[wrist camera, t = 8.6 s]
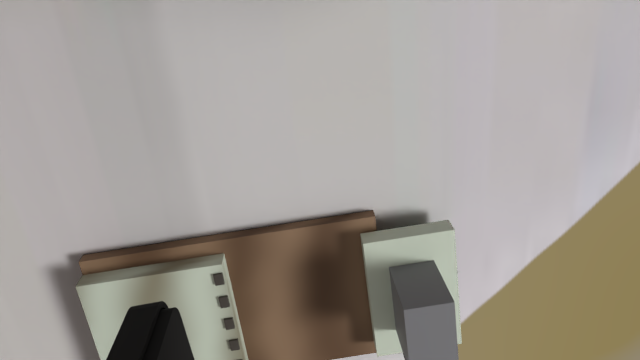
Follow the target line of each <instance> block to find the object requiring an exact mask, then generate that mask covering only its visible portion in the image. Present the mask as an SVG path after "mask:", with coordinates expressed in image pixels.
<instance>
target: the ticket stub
mask: <svg viewBox="0 0 640 360" xmlns="http://www.w3.org/2000/svg"><path fill="white" fill-rule="evenodd" d="M360 236H361V244H362V252H363V259H364V267H365V275H366V283H367V290H368V298H369V306H370V314H371V322H372V329H373V337H374V344H375V348H376V353H377V356H384V355H390V354H396V353H403V355H404V358H405V360H458V347H457V344H461V326H460V310H459V294H458V277H457V261H456V245H455V230H454V228H453V227H452V225H451V223H450V222H449V220H445V221H438V222H432V223H425V224H419V225H413V226H406V227H400V228H393V229H387V230H380V231H374V232H367V233H361V234H360Z"/></svg>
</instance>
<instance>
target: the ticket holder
mask: <svg viewBox="0 0 640 360" xmlns="http://www.w3.org/2000/svg"><path fill="white" fill-rule="evenodd" d="M374 231H377V228H376V220H375V215H374V212H373V210H371V211H365V212H358V213H352V214H345V215H339V216H332V217H326V218H319V219H313V220H306V221H300V222H293V223H287V224H281V225H274V226H268V227H261V228H255V229H248V230H242V231H235V232H229V233H222V234H216V235H209V236H203V237H196V238H190V239H183V240H177V241H170V242H164V243H157V244H151V245H145V246H138V247H132V248H125V249H119V250H112V251H106V252H99V253H93V254H86V255H83V256H82V258H81V259H80V261H79V265H80V268H81V271H82V274H83V276H82V277H81V279H80V281H79V282H78V284H77V285H76V290H77V293H78V296H79V298H80V301H81V304H82V307H83V310H84V313H85V316H86V319H87V322H88V325H89V328H90V331H91V333H92V336H93V339H94V342H95V345H96V348H97V351H98V354H99V357H100V360H106V359H107V357H108V354H109V352H110V350H111V347H112V345H113V343H114V341H115V338H116V336H117V334H118V332H119V329H120V327H121V325H122V322H123V320H124V318H125V316H126V313H127V311H128V309H129V308H130V307H132V306H137V305H142V304H148V303H154V302H159V301H164V302H165V303H166V304H167V306H168V308H173V307H176V308H177V309H178V310H179V312H180V315H181V318H182V321H183V324H184V327H185V331H186V334H187V337H188V340H189V343H190V347H191V350H192V353H193V356H194V360H331V359H338V358H344V357H351V356H357V355H363V354H370V353H376V348H375V344H374V337H373V329H372V322H371V314H370V306H369V298H368V290H367V283H366V275H365V267H364V259H363V252H362V244H361V236H360V234H361V233H367V232H374Z"/></svg>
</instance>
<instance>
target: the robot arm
mask: <svg viewBox="0 0 640 360" xmlns="http://www.w3.org/2000/svg"><path fill="white" fill-rule="evenodd" d="M106 360H194V356H193V353H192V350H191V347H190V343H189V340H188V337H187V334H186V331H185V327H184V324H183V321H182V318H181V315H180V312H179V310H178V309H177V308H176V307H173V308H168V306H167V304H166V303H165V302H164V301H159V302H154V303H148V304H142V305H137V306H132V307H130V308H129V309H128V311H127V313H126V316H125V318H124V320H123V322H122V325H121V327H120V329H119V332H118V334H117V336H116V338H115V341H114V343H113V345H112V347H111V350H110V352H109V354H108V357H107V359H106Z"/></svg>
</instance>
